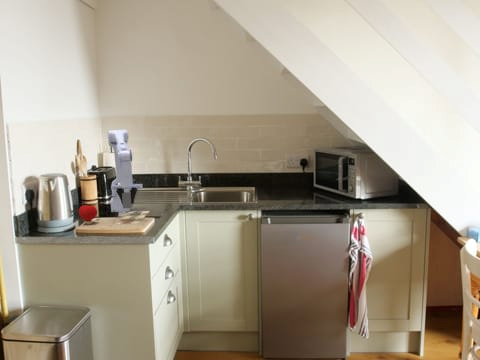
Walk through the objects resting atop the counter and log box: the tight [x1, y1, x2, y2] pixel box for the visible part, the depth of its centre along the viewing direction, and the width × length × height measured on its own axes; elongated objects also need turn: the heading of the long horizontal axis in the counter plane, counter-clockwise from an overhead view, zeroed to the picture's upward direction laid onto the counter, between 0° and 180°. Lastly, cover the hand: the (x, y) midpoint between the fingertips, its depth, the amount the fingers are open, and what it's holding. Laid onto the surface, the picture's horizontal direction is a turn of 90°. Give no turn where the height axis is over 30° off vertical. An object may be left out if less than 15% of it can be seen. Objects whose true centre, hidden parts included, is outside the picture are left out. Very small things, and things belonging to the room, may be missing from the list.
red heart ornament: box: [78, 204, 98, 225], centre depth 207 cm, size 9×7×10 cm
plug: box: [122, 192, 134, 209], centre depth 210 cm, size 4×4×7 cm
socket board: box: [112, 210, 150, 225], centre depth 217 cm, size 12×26×2 cm, turn 0°
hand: (128, 203), depth 210 cm, fingers closed on plug, 4 cm apart
